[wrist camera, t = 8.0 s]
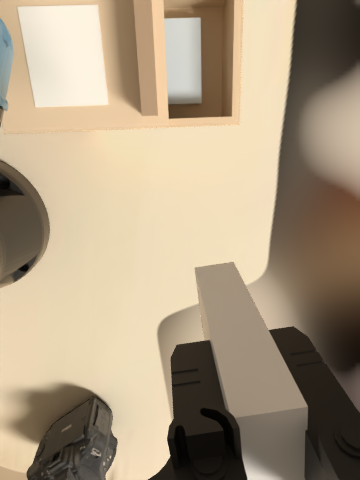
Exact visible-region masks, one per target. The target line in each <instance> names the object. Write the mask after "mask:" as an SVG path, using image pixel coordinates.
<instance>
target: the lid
mask: <svg viewBox="0 0 360 480" xmlns="http://www.w3.org/2000/svg"><path fill="white" fill-rule="evenodd" d="M0 18H1V19H2V21H3V22H4V24H5V25H6V27H7V29H8V31H9V33H10V35H11V38H12V41H13V46H14V57H13V63H12V68H11V74H10V79H9V85H8V90H7V96H6V100H7V101H8V110H7V111H5V110H4V114H3V118H2V124H3V129H4V133H5V134H17V133H43V132H68V131H94V130H120V129H145V128H169V115H168V93H167V70H166V48H165V26H164V4H163V0H0Z"/></svg>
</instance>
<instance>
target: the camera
mask: <svg viewBox="0 0 360 480" xmlns="http://www.w3.org/2000/svg"><path fill="white" fill-rule="evenodd" d="M112 420H113V415H112V411H111V409H110V408H109V407H107V406H106V405H105V404H104V403H103V402H101V401H100V400H98V399H97V398H95V397H92V398H91V399H89V400H88V401H86V402H85V403H83V404H82V405H80V406H79V407H77V408H76V409H74V410H73V411H71V412H70V413H68V414H67V415H65V416H64V417H62V418H61V419H60V420H58V421H57V422H56V423H54V424H53V425H52V427H51V429H50V430H49V431H48V432H47V433H46V434H45V435H44V436H43V438H42V440H41V442H40V445H39V447H38V450H37V452H36V455H35V458H34V461H33V464H32V465H31V466H30V467H29V468H28V471H27V478H28V480H106V478H105V475H106V472H107V471H108V469H109V468H110V466H111V465H112V462H113V460H114V457H115V455H116V447H117V439H116V438H115V437H114V436H113V434H112V431H111V425H112Z"/></svg>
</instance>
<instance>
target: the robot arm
mask: <svg viewBox="0 0 360 480" xmlns="http://www.w3.org/2000/svg"><path fill="white" fill-rule="evenodd" d="M13 57H14V46H13V41H12V38H11V35H10V33H9V31H8V29H7V27H6V25H5V24H4V22H3V21H2V19H1V18H0V126H1V122H2V118H3V114H4V110H5V111H7V110H8V101H7V100H6V96H7V90H8V85H9V79H10V74H11V68H12V63H13ZM49 233H50V226H49V218H48V214H47V211H46V208H45V205H44V203H43V201H42V199H41V197H40V195H39V194H38V192H37V191H36V189H35V188H34V187H33V186H32V184H31V183H30V182H29V181H28V180H27V179H26V178H25V177H24V176H23V175H22V174H20V173H19V172H18V171H16V170H15V169H14V168H12V167H10V166H9V165H7V164H5V163H3V162H1V161H0V288H2V287H4V286H7V285H10V284H12V283H14V282H16V281H18V280H19V279H21V278H22V277H24V276H25V275H26V274H27V273H28V272H29V271H30V270H31V269H32V268H33V267H34V266H35V265H36V264H37V263H38V261H39V260H40V259H41V257H42V256H43V254H44V252H45V250H46V247H47V244H48V240H49ZM195 274H196V282H197V290H198V298H199V306H200V314H201V322H202V328H203V333H204V338H205V341H200V342H193V343H186V344H179V345H177V346H176V348H175V350H174V352H173V354H172V356H171V374H172V395H173V414H174V419H173V421H172V423H171V424H170V426H169V431H168V437H167V441H168V446H169V451H170V455H171V456H170V458H169V460H168V461H167V463H166V465H165V466H164V467H163V468H162V469H161V470H160V471H159V472H158V473H157V474H156V475H154V476H153V477H151V478H150V479H148V480H360V413H359V411H358V410H357V409H356V407H355V406H354V404H353V403H352V401H351V400H350V399H349V397H348V395H347V394H346V393H345V391H344V390H343V388H342V387H341V385H340V384H339V382H338V381H337V379H336V378H335V376H334V375H333V373H332V372H331V371H330V369H329V368H328V366H327V364H325V363H324V360H323V359H322V357H321V356H320V354H319V353H318V352H317V350H316V348H315V347H314V345H313V344H312V342H311V341H310V339H309V338H308V337H307V336H306V335H305V334H303V333H302V332H300V331H299V330H298V329H296V328H294V327H286V328H279V329H273V330H268V328H267V326H266V324H265V323H264V320H263V318H262V317H261V315H260V313H259V311H258V309H257V307H256V305H255V303H254V301H253V299H252V297H251V295H250V293H249V291H248V289H247V287H246V285H245V284H244V282H243V280H242V278H241V276H240V274H239V272H238V270H237V268H236V266H235V264H234V262H230V263H223V264H216V265H210V266H203V267H196V268H195Z"/></svg>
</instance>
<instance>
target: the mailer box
mask: <svg viewBox="0 0 360 480" xmlns="http://www.w3.org/2000/svg"><path fill="white" fill-rule="evenodd" d="M163 4H164V26H165V48H166V70H167V93H168V115H169V127H191V126H216V125H240V94H241V59H242V24H243V0H163Z"/></svg>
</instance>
